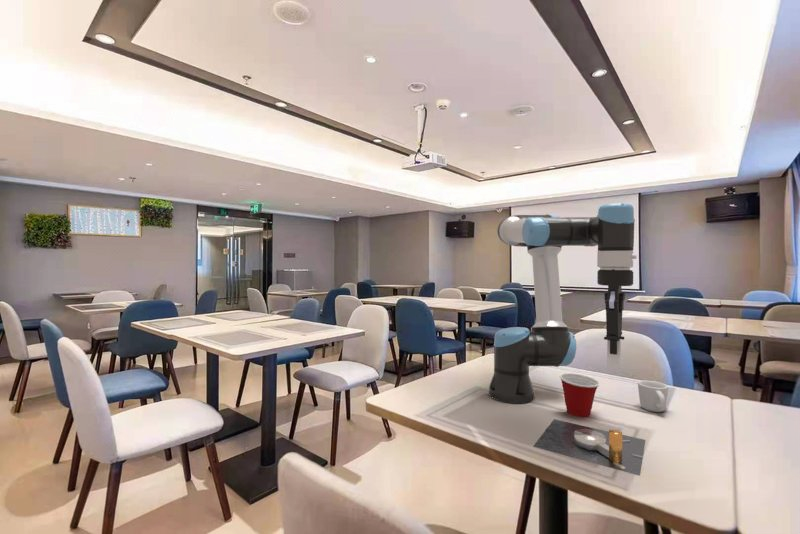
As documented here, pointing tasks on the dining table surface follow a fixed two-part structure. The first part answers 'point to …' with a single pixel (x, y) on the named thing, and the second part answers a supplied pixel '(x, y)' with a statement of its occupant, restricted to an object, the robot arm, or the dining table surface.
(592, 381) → the plastic cup
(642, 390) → the cup
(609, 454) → the metal measuring spoon
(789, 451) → the dining table surface
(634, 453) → the panel
